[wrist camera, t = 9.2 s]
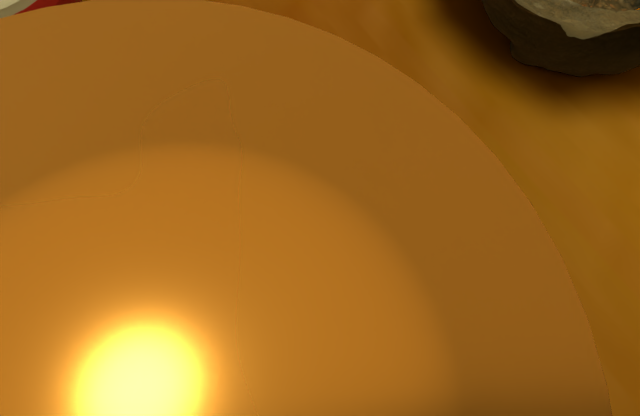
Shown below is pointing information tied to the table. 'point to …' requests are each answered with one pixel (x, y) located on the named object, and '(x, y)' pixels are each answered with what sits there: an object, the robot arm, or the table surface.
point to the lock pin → (262, 231)
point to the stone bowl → (571, 33)
